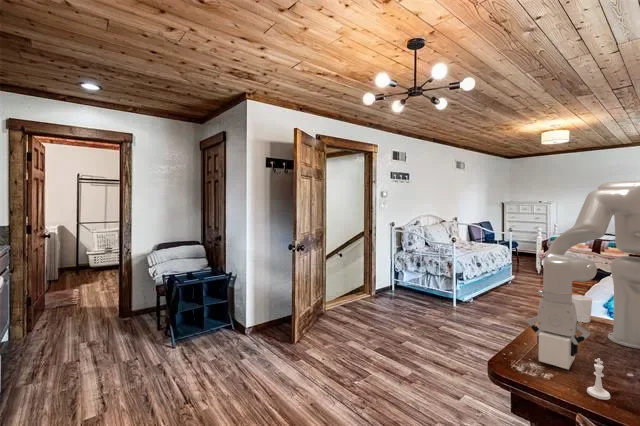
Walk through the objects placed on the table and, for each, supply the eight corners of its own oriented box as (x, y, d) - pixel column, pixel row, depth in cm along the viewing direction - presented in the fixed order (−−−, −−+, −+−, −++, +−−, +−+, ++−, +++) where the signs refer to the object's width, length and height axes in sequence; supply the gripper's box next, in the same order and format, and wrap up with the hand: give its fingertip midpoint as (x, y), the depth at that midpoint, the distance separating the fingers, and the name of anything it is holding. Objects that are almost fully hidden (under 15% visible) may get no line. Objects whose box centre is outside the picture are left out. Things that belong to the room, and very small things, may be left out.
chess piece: (603, 401, 87) (604, 364, 87) (582, 391, 92) (583, 356, 91) (614, 396, 89) (614, 360, 89) (593, 387, 94) (593, 352, 93)
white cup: (596, 323, 139) (596, 300, 139) (574, 322, 141) (575, 299, 140) (585, 317, 147) (585, 295, 146) (565, 316, 148) (565, 294, 148)
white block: (546, 350, 113) (546, 325, 113) (574, 358, 107) (574, 331, 107) (538, 360, 106) (538, 334, 106) (568, 369, 100) (568, 341, 100)
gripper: (523, 294, 110) (522, 346, 110) (590, 305, 97) (589, 364, 98) (529, 289, 115) (529, 339, 115) (594, 300, 102) (593, 355, 103)
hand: (556, 350), depth 106 cm, fingers closed on white block, 7 cm apart
